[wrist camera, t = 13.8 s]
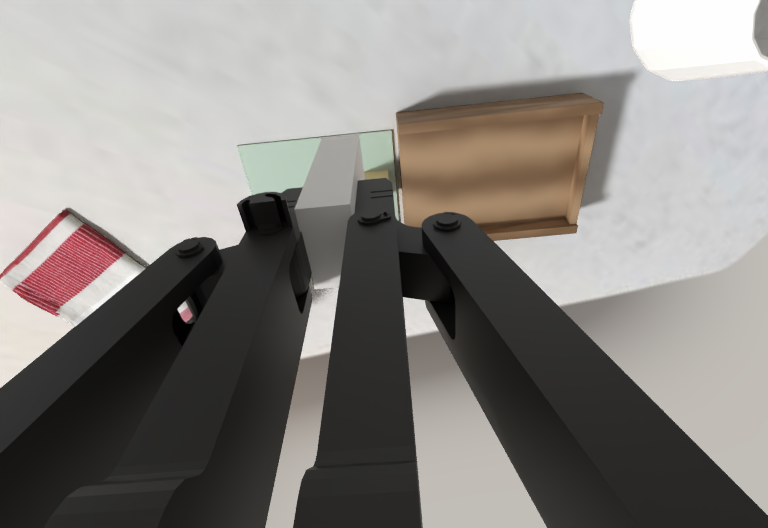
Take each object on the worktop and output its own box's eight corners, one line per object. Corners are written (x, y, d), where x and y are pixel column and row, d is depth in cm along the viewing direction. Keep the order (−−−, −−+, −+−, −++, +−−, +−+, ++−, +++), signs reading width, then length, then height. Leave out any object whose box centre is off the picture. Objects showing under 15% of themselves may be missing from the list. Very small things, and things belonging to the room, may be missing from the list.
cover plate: (238, 143, 44) (225, 158, 41) (391, 128, 44) (392, 141, 40) (266, 234, 51) (257, 253, 47) (398, 222, 51) (400, 241, 47)
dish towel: (150, 361, 65) (142, 374, 62) (3, 270, 54) (-13, 282, 52) (217, 316, 59) (211, 328, 57) (69, 204, 48) (54, 214, 46)
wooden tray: (395, 112, 42) (398, 124, 38) (582, 92, 41) (603, 102, 37) (405, 229, 50) (407, 248, 46) (560, 214, 50) (576, 233, 46)
